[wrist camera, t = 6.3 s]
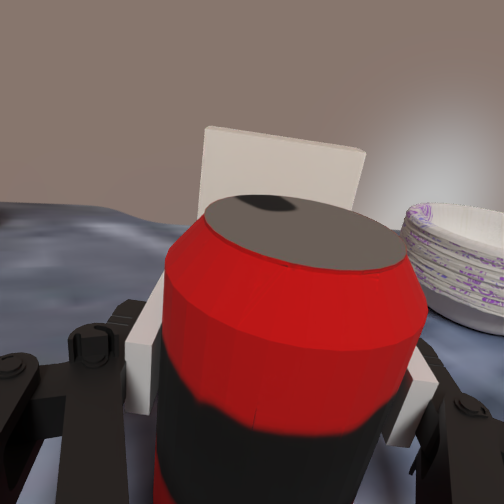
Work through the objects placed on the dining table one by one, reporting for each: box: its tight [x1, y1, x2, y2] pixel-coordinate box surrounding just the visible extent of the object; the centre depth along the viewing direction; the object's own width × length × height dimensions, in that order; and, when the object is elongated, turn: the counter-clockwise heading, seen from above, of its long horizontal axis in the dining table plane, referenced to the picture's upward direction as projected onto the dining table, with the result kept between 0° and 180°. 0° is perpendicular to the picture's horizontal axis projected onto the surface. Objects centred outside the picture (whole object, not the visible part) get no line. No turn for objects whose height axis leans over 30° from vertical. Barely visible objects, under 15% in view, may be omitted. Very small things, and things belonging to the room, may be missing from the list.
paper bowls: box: [399, 203, 504, 336], centre depth 32 cm, size 15×15×8 cm
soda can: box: [153, 195, 428, 504], centre depth 13 cm, size 8×8×12 cm
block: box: [197, 126, 366, 220], centre depth 24 cm, size 2×9×13 cm, turn 88°
